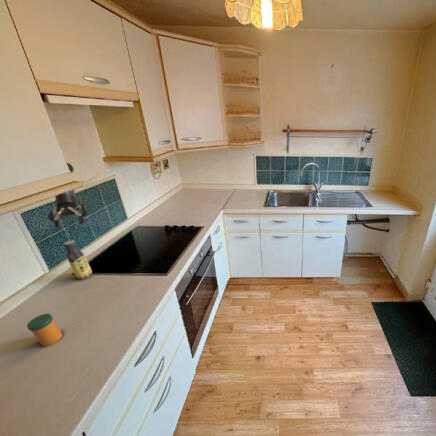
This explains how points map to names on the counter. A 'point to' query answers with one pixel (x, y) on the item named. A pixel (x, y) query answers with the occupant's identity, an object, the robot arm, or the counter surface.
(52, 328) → the honey jar
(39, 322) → the lid
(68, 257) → the sauce bottle
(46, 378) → the counter surface
